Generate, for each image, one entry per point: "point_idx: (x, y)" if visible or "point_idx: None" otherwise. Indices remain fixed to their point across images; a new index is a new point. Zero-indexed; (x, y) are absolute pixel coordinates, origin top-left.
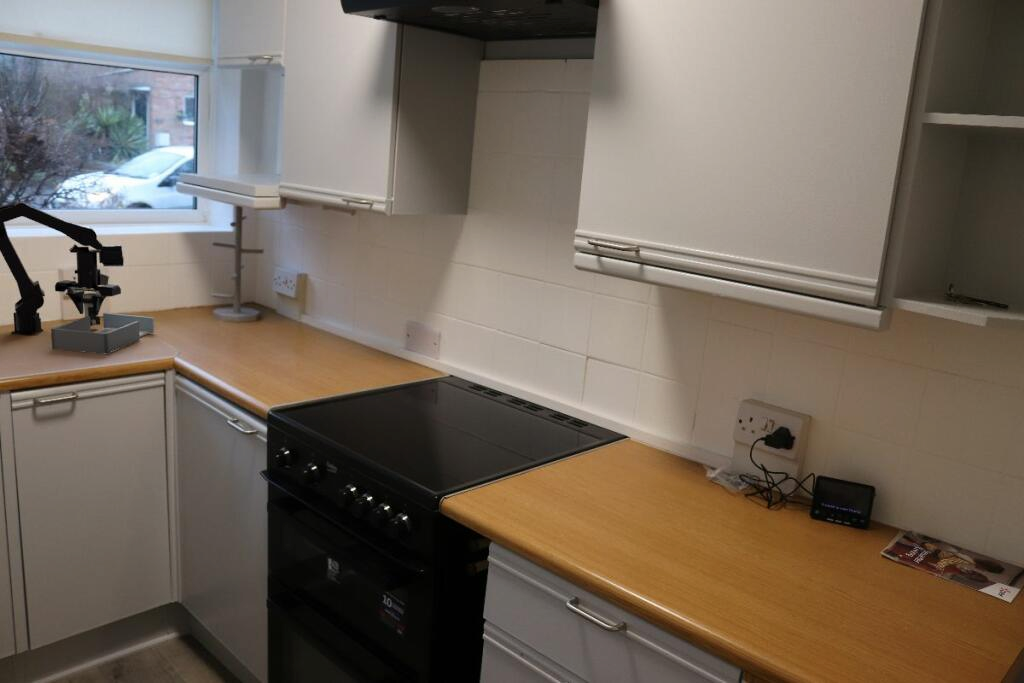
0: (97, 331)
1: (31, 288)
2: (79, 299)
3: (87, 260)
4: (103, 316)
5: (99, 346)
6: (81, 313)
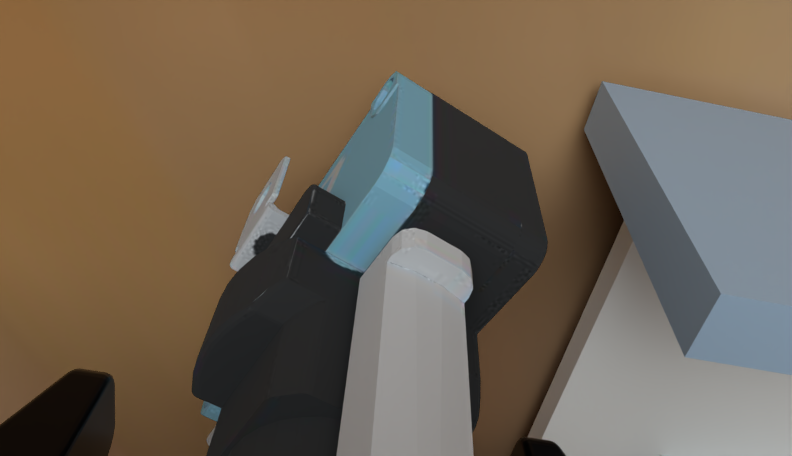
0: None
1: None
2: None
3: None
4: (663, 289)
5: None
6: (107, 452)
